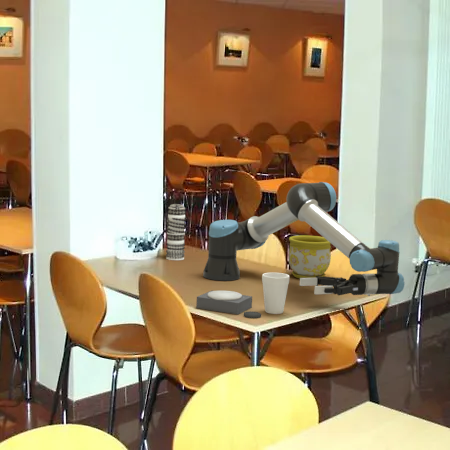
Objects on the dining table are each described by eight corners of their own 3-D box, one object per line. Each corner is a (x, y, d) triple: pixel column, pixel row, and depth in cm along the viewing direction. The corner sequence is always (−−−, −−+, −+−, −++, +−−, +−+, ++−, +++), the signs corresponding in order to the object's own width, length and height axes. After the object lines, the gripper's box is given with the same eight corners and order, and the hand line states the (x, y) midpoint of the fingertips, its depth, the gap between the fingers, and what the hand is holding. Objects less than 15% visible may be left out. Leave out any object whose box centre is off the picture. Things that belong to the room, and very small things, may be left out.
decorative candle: (189, 258, 380) (191, 204, 376) (177, 261, 372) (179, 206, 368) (172, 255, 384) (174, 202, 380) (161, 258, 376) (162, 204, 373)
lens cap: (240, 317, 280) (240, 314, 279) (247, 313, 285) (248, 310, 285) (256, 320, 277) (257, 316, 277) (263, 316, 282) (264, 313, 282)
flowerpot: (278, 275, 349) (280, 237, 347) (303, 270, 362) (305, 233, 360) (313, 283, 337) (315, 244, 335) (337, 277, 351) (340, 239, 348)
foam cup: (285, 316, 283) (287, 279, 281) (258, 313, 285) (260, 276, 283) (288, 309, 292) (290, 273, 290) (263, 307, 294) (264, 271, 292)
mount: (196, 307, 289) (196, 294, 288) (211, 301, 300) (211, 288, 299) (237, 314, 282) (238, 300, 282) (251, 307, 293) (252, 294, 292)
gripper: (377, 302, 284) (320, 304, 278) (346, 287, 307) (293, 288, 301) (379, 281, 283) (322, 283, 276) (347, 267, 306) (294, 268, 300)
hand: (307, 286), depth 289 cm, fingers open, 13 cm apart
